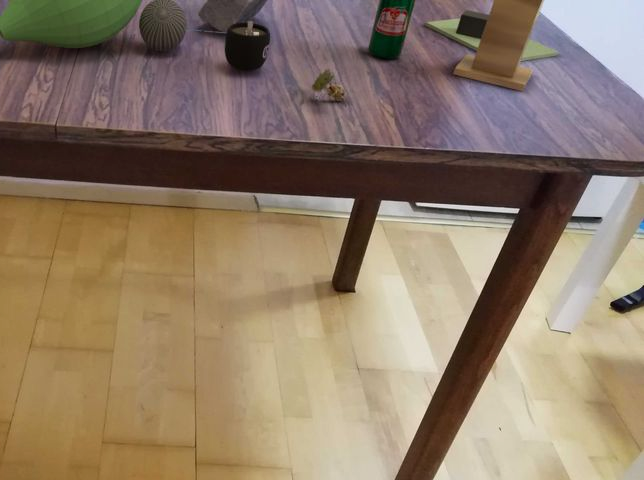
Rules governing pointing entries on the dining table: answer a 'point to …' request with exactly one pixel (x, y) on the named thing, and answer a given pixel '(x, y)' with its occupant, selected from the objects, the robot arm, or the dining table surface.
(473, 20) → the hammer
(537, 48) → the mat
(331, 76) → the soldier figurine
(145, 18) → the lollipop
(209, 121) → the dining table surface
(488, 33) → the stand
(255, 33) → the mug
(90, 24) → the balloon
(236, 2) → the rock
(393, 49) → the soda can
